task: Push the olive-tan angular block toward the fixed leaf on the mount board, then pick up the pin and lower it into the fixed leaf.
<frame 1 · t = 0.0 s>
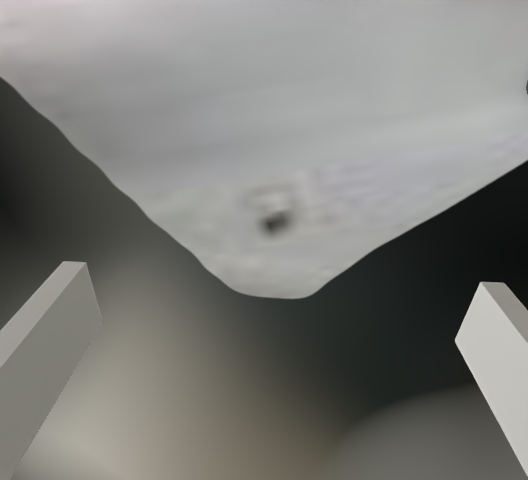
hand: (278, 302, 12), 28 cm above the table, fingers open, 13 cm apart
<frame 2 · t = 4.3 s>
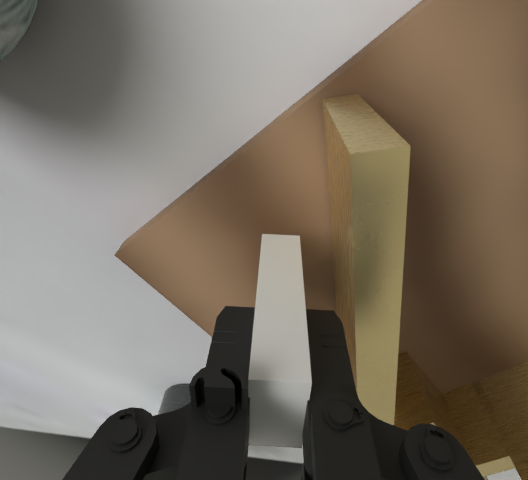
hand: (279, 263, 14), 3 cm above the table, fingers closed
pin: (189, 399, 24), on the table
fixed leaf: (377, 386, 23), resting on mount board
olive-tan angular block: (358, 296, 13), point 5 cm above the table, hinge at 59.8°, touching gripper
mount board: (441, 271, 18), on the table
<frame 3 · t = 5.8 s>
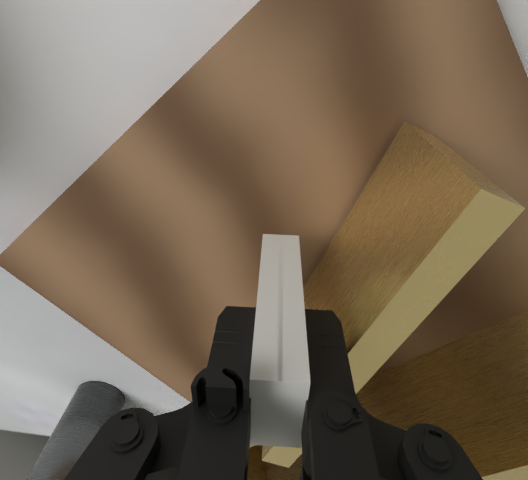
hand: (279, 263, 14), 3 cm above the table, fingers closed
pin: (101, 396, 25), on the table
fixed leaf: (274, 385, 24), resting on mount board
olive-tan angular block: (343, 305, 14), point 5 cm above the table, hinge at 29.1°, touching gripper
mount board: (308, 278, 19), on the table
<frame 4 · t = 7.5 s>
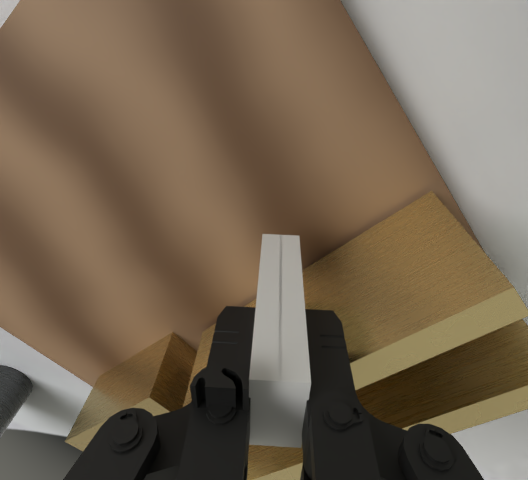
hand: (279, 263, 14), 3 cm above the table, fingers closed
pin: (7, 381, 25), on the table
fixed leaf: (179, 368, 23), resting on mount board
olive-tan angular block: (312, 326, 14), point 5 cm above the table, hinge at 1.6°, touching gripper
mount board: (190, 253, 18), on the table
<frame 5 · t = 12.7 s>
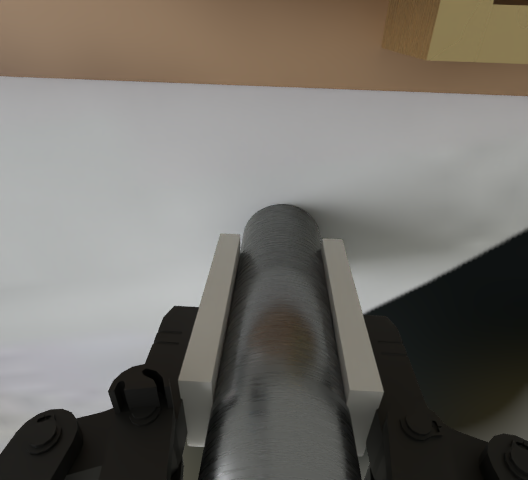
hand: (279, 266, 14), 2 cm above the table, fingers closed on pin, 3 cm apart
pin: (281, 238, 16), on the table, touching gripper
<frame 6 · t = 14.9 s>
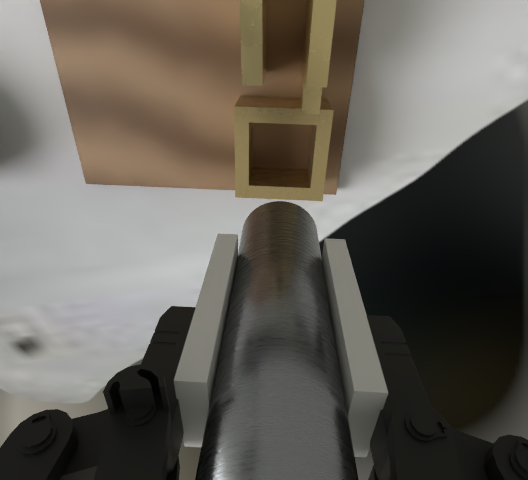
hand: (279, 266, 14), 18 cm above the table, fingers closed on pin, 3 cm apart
pin: (279, 235, 16), point 16 cm above the table, touching gripper
fixed leaf: (281, 136, 30), resting on mount board
mount board: (204, 37, 26), on the table
when the fingers open (6 cm above the table, at t = 17.3 s): pin stays where it is, resting on mount board.
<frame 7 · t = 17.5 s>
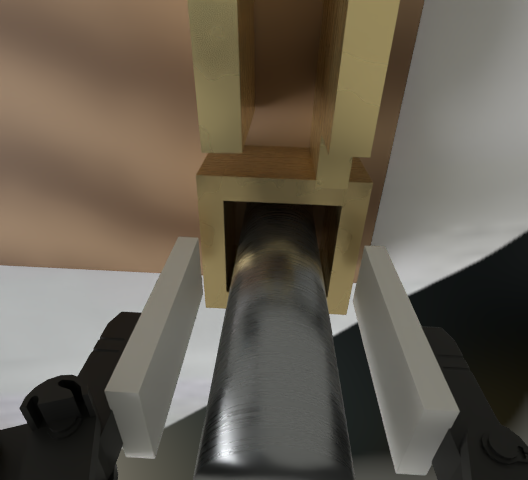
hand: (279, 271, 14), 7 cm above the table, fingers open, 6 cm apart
pin: (278, 210, 18), point 1 cm above the table, touching mount board
fixed leaf: (280, 199, 19), resting on mount board
mount board: (153, 50, 16), on the table
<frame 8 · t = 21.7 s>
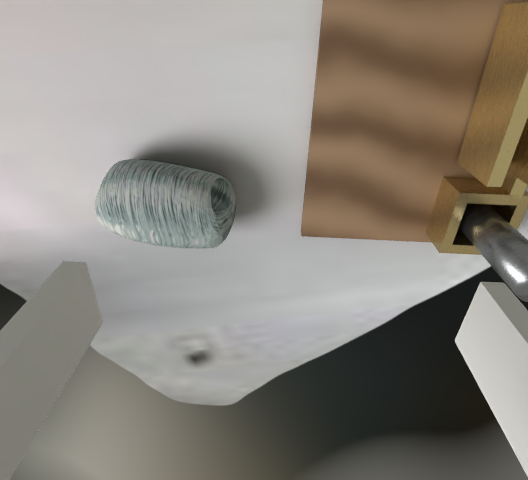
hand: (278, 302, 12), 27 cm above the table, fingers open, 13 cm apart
pin: (464, 207, 38), point 1 cm above the table, touching mount board
fixed leaf: (460, 202, 39), resting on mount board
olive-tan angular block: (502, 98, 29), point 5 cm above the table, hinge at 1.6°
spool: (178, 188, 40), on the table
mount board: (421, 135, 35), on the table
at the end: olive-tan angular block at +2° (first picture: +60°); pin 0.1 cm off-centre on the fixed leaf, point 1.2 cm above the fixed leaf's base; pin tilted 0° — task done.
